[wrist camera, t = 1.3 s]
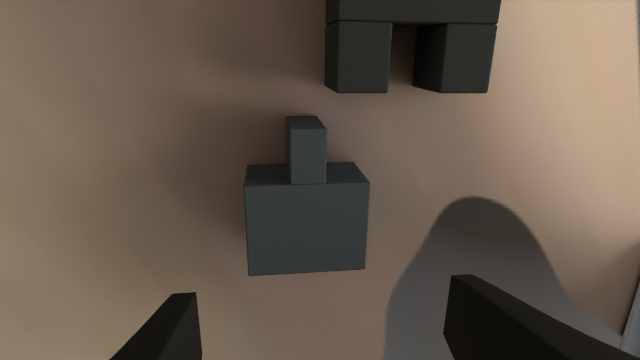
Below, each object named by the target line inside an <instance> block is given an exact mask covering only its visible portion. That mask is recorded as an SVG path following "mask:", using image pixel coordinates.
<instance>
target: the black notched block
mask: <svg viewBox="0 0 640 360" xmlns="http://www.w3.org/2000/svg"><path fill="white" fill-rule="evenodd" d="M500 4H501V0H326V20H325V23H326V25H327V26H326V27H325V81H324V84H325V86H326V87H328V88H330V89H331V90H333V91H335V92H336V93H387V92H388V83H389V68H390V53H391V38H392V27H419V28H417V35H416V47H415V58H414V70H413V81H412V86H414V87H417V88H421V89H426V90H430V91H434V92H438V93H487V91H488V85H489V78H490V71H491V64H492V58H493V51H494V44H495V37H496V30H497V25H495V24H497V23H498V18H499V11H500Z"/></svg>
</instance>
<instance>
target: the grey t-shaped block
mask: <svg viewBox="0 0 640 360" xmlns="http://www.w3.org/2000/svg"><path fill="white" fill-rule="evenodd" d="M326 150H327V129H326V128H325V126H324V125H323V124H322V122H321V121H320V120H319V119H318V117H317V116H287V117H286V163H287V164H265V165H247V169H246V176H245V183H244V200H245V220H246V240H247V259H248V275H249V276H262V275H278V274H294V273H311V272H327V271H343V270H359V269H365V260H366V243H367V226H368V208H369V191H370V182H369V181H368V180H367V178H366V177H365V176H364V175H363V173H362V172H361V171H360V170H359V168H358V167H357V166H356V165H355V163H354V162H349V163H326Z"/></svg>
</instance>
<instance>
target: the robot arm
mask: <svg viewBox="0 0 640 360" xmlns="http://www.w3.org/2000/svg"><path fill="white" fill-rule="evenodd" d="M443 334H444V337H445V339H446V341H447V344H448V346H449V348H450V351H451V353H452V355H453V357H454V359H455V360H640V283H639V287H638V290H637V293H636V296H635V299H634V302H633V306H632V309H631V312H630V315H629V318H628V321H627V324H626V328H625V331H624V334H623V337H622V341H621V343H620V347H619V349H618V348H615V347H613V346H611V345H608V344H606V343H603V342H601V341H599V340H597V339H595V338H593V337H590V336H588V335H586V334H584V333H582V332H580V331H578V330H576V329H574V328H572V327H570V326H568V325H566V324H564V323H562V322H560V321H558V320H556V319H554V318H552V317H550V316H548V315H547V314H545V313H543V312H541V311H539V310H537V309H536V308H533V307H532V306H530V305H528V304H526V303H524V302H523V301H521V300H519V299H517V298H516V297H514V296H512V295H510V294H508V293H506V292H505V291H503V290H501V289H499V288H498V287H496V286H494V285H492V284H490V283H488V282H486V281H484V280H482V279H480V278H478V277H476V276H474V275H472V274H466V275H452V276H451V282H450V289H449V296H448V303H447V311H446V317H445V325H444V332H443ZM109 360H202V347H201V337H200V327H199V317H198V307H197V297H196V292H192V293H176V294H172V295H171V296H170V297H169V298H168V299H167V300H166V301H165V302H164V303H163V304H162V305H161V306H160V307H159V308H158V310H157V311H156V312H155V313H154V314H153V315H152V316H151V317H150V318H149V319H148V320H147V322H146V323H145V324H144V325H143V326H142V327H141V328H140V329H139V330H138V331H137V332H136V333H135V334H134V335H133V336H132V337H131V338H130V339H129V341H128V342H127V343H126V344H125V345H124V346H123V347H122V348H121V349H120V350H119V351H118V352H117V353H116V354H115V355H114V356H113V357H112V358H110V359H109Z"/></svg>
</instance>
